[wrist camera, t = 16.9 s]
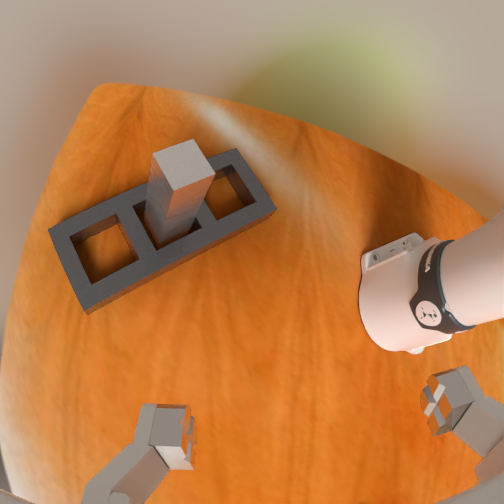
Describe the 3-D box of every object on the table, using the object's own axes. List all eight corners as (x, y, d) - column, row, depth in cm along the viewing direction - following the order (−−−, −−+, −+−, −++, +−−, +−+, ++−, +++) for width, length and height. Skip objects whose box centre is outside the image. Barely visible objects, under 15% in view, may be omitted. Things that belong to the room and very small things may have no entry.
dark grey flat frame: (229, 160, 45) (236, 148, 42) (268, 218, 44) (277, 208, 41) (53, 238, 33) (47, 229, 30) (88, 314, 32) (83, 310, 29)
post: (172, 207, 39) (193, 138, 27) (187, 234, 39) (215, 173, 27) (143, 220, 38) (152, 153, 25) (159, 248, 37) (173, 190, 25)
